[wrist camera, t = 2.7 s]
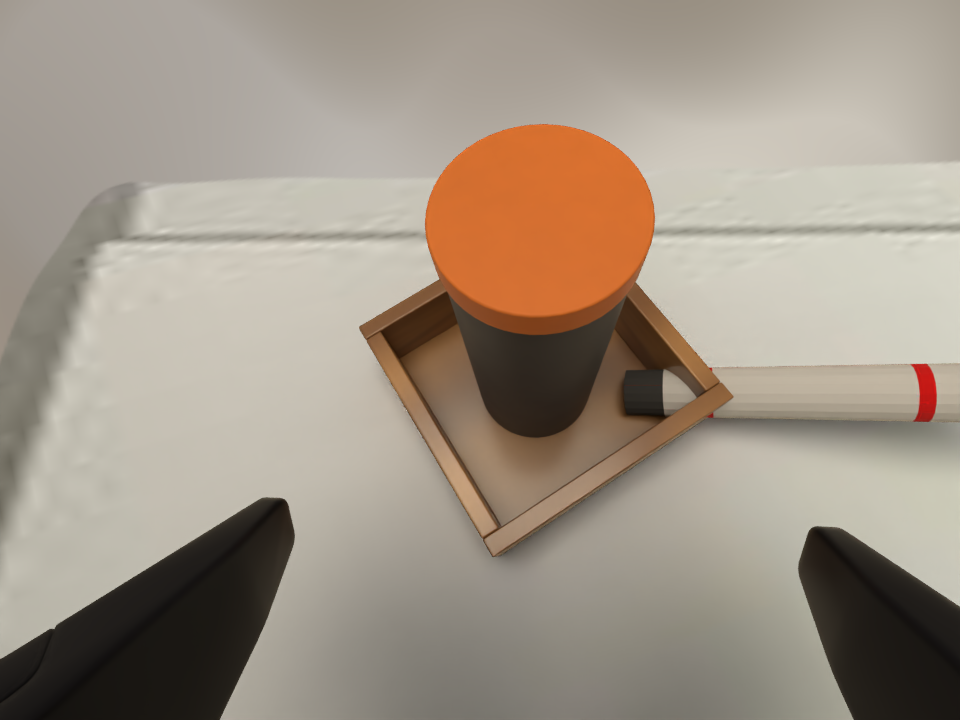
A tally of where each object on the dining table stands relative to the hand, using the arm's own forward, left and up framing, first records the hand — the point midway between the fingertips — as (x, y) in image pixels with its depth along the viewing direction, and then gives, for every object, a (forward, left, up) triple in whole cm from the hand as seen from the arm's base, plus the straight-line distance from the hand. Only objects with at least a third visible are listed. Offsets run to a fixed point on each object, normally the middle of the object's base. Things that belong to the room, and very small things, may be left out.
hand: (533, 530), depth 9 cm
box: (+5, -4, -13) cm, 14 cm away
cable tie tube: (+5, -4, -13) cm, 14 cm away
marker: (-2, -13, -11) cm, 17 cm away
